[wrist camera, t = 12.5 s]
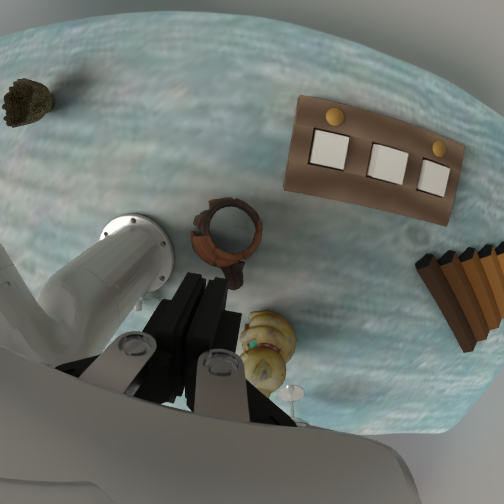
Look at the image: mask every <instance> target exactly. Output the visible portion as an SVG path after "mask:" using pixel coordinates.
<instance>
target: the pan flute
mask: <svg viewBox="0 0 504 504" xmlns="http://www.w3.org/2000/svg"><path fill="white" fill-rule="evenodd" d="M459 259H460V260H459ZM438 263H439V264H438ZM439 265H440V266H439ZM415 266H416V270H417V272H418V273H419V275H420V276H421V278H422V280H423V281H424V283H425V284H426V286H427V288H428V289H429V291H430V293H431V294H432V296H433V298H434V299H435V301H436V303H437V304H438V306H439V308H440V310H441V311H442V313H443V315H444V317H445V318H446V320H447V322H448V324H449V326H450V327H451V329H452V331H453V333H454V335H455V337H456V339H457V341H458V343H459V344H460V346H461V348H462V350H463V352H464V353H465V352H471V351H473V350H474V348H475V345H476V342H477V341H482V340H486V339H487V336H488V333H489V330H492V329H496V328H499V325H500V322H501V319H502V318H504V242H501V243H500V245H499V246H498V247H497V248H496V249H494V247H493V245H488V244H486V245H485V246H484V247H483V248H482V249H481V250H480V251H479V252H478V253H477V251H476V249H475V248H470V247H468V248H467V249H466V250H465V251H464V252H463V253H462V254H461V255H460V256H459V258H458V256H457V254H456V252H454V251H450V250H448V251H447V252H446V253H445V254H444V255H443V256H442V257H441V258H440V259H439V260H438V262H437V260H436V259H435V257H434V255H431V254H426V255H425V256H424V257H422V258H421V259H420V260H419V261H418V262H417V263H416V264H415Z"/></svg>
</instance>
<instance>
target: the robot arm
mask: <svg viewBox="0 0 504 504" xmlns="http://www.w3.org/2000/svg"><path fill="white" fill-rule="evenodd" d="M135 219H136V220H135ZM164 242H165V243H164ZM173 266H174V252H173V247H172V244H171V242H170V240H169V238H168V236H167V234H166V233H165V232H164V230H163V229H162V228H161V227H160V226H159V225H158V224H157V223H156V222H154V221H153V220H151V219H150V218H148V217H145V216H143V215H139V214H124V215H121V216H119V217H117V218H115V219H113V220H112V221H110V222H109V223H108V224H107V225H106V226H105V228H104V229H103V231H102V233H101V236H100V240H99V242H97V243H96V244H94V245H93V246H92V247H90V248H89V249H87V250H86V251H84V252H83V253H82V254H80V255H79V256H78V257H76V258H75V259H73V260H72V261H71V262H69V263H68V264H67V265H65V266H64V267H63V268H61V269H60V270H58V271H57V272H56V273H55V274H54V275H52V276H51V277H50V278H49V280H48V281H47V282H46V284H45V285H44V287H43V289H42V292H41V294H40V297H39V300H38V303H37V301H36V300H35V298H34V297H33V295H32V294H31V292H30V290H29V289H28V287H27V286H26V284H25V282H24V281H23V279H22V278H21V276H20V274H19V272H18V271H17V269H16V267H15V266H14V264H13V262H12V260H11V259H10V257H9V255H8V254H7V252H6V250H5V249H4V247H3V246H2V244H1V243H0V504H421V500H420V497H419V493H418V490H417V487H416V484H415V481H414V478H413V476H412V474H411V471H410V469H409V467H408V465H407V463H406V461H405V460H404V459H403V458H402V456H401V455H400V454H399V453H398V452H397V451H396V450H394V449H393V448H392V447H390V446H388V445H386V444H384V443H382V442H379V441H377V440H373V439H370V438H367V437H364V436H360V435H355V434H350V433H345V432H338V431H334V430H329V429H325V428H320V427H316V426H312V425H308V424H306V425H305V427H302V426H298V425H296V423H295V422H294V420H293V419H292V418H291V417H290V416H288V415H287V414H286V413H285V412H284V411H282V410H281V409H280V408H279V407H278V406H276V405H275V404H274V403H273V402H272V401H271V400H269V399H268V398H267V397H266V396H265V395H264V394H263V393H261V392H260V391H259V390H258V389H257V388H256V387H255V386H254V385H252V384H251V383H250V382H249V381H248V380H247V379H246V378H245V369H244V363H243V360H242V359H241V358H240V357H239V356H238V355H237V354H235V352H236V346H237V340H238V334H239V328H240V322H241V316H242V313H237V312H231V311H226V310H225V307H226V299H227V291H228V283H229V279H224V278H218V277H215V279H214V280H209V282H208V284H207V287H206V279H203V278H202V275H201V274H195V273H190V272H188V273H187V275H186V276H185V278H184V280H183V281H182V283H181V285H180V286H179V288H178V290H177V291H176V293H175V295H174V297H173V298H172V300H167V299H162V301H161V302H160V304H159V305H158V307H157V308H156V310H155V311H154V313H153V315H152V316H151V318H150V320H149V321H148V323H147V324H146V326H145V328H144V329H143V331H142V332H140V331H131V332H126V333H124V334H121V335H120V336H118V337H117V338H116V339H115V340H114V341H113V342H112V343H111V344H110V345H109V346H108V347H107V348H106V349H105V347H106V345H107V344H108V342H109V341H110V340H111V338H112V337H113V335H114V334H115V333H116V331H117V329H118V328H119V327H120V325H121V324H122V323H123V321H124V320H125V318H126V317H127V316H128V314H129V313H130V312H131V310H132V309H134V310H135V311H141V310H142V302H141V300H142V298H143V297H144V296H145V294H146V293H148V292H152V291H155V290H157V289H158V288H160V287H161V286H162V285H164V284H165V283H166V281H167V280H168V278H169V277H170V275H171V273H172V270H173ZM163 276H164V277H163ZM205 287H206V289H205ZM104 349H105V350H104ZM103 350H104V351H103ZM102 352H103V353H102ZM101 353H102V354H101ZM184 387H185V398H187V406H188V407H189V408H190V410H191V411H192V412H191V411H186V410H182V409H178V408H173V407H169V406H165V405H161V404H162V403H165V402H170V403H174V402H175V399H176V396H180V397H181V396H182V393H183V390H184Z"/></svg>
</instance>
